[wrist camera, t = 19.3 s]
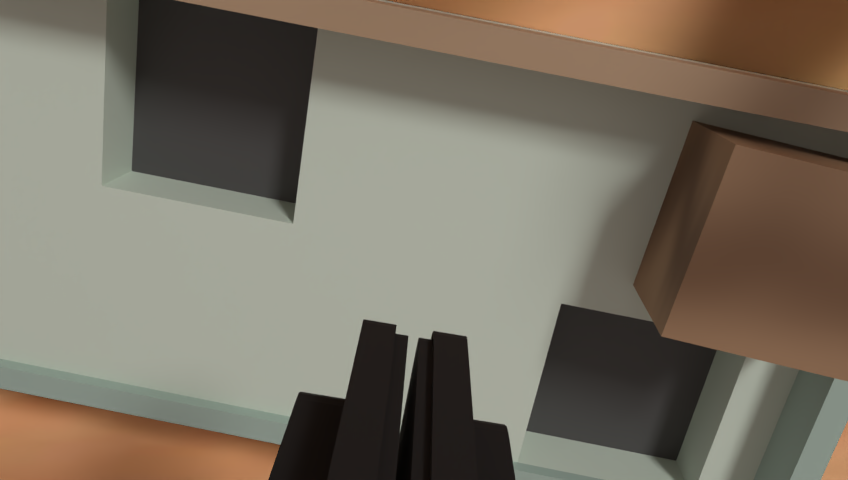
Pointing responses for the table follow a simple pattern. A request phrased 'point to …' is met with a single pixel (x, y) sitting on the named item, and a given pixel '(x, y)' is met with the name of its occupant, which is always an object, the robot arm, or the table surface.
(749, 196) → the walnut block
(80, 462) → the table surface
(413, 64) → the board
